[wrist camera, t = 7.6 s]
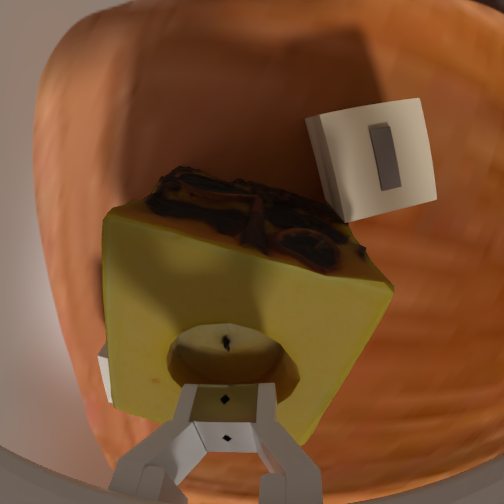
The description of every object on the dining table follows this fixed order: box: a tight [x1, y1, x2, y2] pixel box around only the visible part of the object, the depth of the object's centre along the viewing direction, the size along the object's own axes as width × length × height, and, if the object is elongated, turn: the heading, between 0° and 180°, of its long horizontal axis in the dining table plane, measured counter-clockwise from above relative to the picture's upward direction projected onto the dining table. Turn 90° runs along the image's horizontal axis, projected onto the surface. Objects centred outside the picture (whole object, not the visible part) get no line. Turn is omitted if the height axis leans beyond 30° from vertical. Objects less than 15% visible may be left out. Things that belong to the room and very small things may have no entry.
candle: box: [102, 166, 394, 446], centre depth 15 cm, size 10×10×10 cm
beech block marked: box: [305, 98, 437, 223], centre depth 15 cm, size 5×5×5 cm
